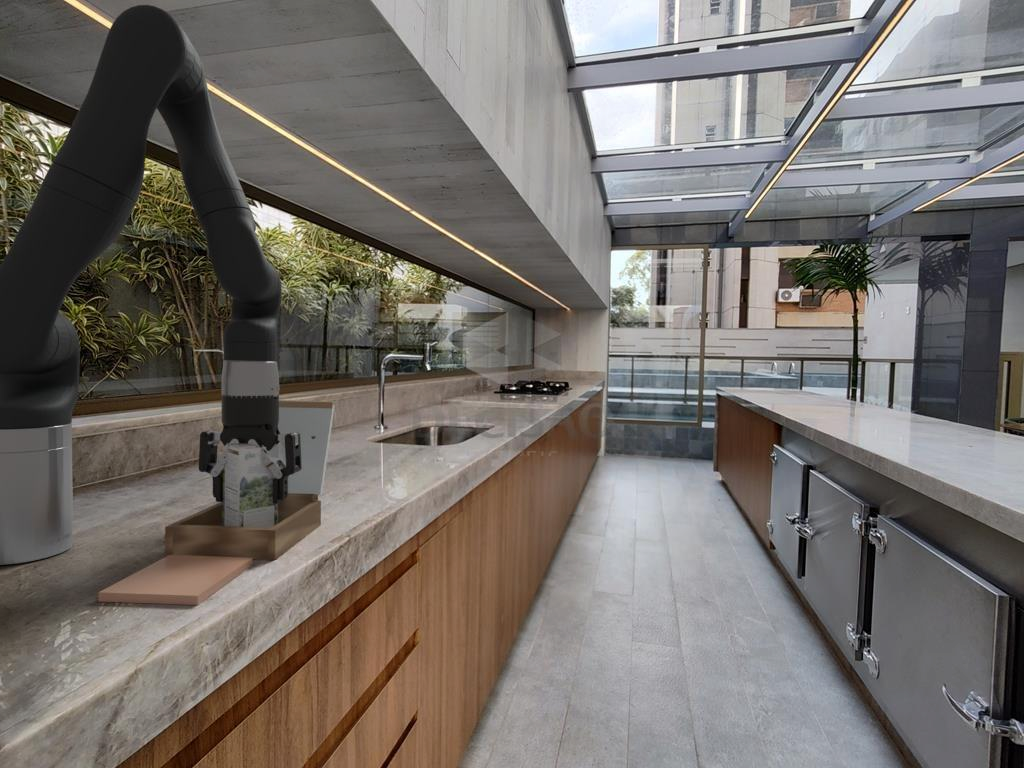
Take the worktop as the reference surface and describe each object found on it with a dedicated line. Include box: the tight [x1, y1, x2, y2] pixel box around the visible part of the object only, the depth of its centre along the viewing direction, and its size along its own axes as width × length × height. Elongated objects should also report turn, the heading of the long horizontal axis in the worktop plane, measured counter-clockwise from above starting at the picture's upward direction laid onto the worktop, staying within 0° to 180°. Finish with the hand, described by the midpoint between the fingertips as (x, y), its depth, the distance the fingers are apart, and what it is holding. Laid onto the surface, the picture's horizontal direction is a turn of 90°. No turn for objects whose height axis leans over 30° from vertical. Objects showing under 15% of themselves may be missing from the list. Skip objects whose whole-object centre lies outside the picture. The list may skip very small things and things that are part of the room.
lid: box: [278, 399, 336, 496], centre depth 86 cm, size 15×6×15 cm, turn 88°
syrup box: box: [222, 443, 279, 528], centre depth 76 cm, size 6×6×14 cm
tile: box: [98, 555, 254, 606], centre depth 61 cm, size 11×11×1 cm
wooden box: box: [164, 436, 322, 561], centre depth 78 cm, size 15×19×14 cm
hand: (250, 501), depth 76 cm, fingers closed on syrup box, 8 cm apart
